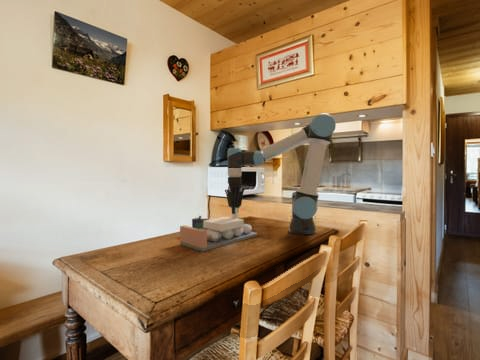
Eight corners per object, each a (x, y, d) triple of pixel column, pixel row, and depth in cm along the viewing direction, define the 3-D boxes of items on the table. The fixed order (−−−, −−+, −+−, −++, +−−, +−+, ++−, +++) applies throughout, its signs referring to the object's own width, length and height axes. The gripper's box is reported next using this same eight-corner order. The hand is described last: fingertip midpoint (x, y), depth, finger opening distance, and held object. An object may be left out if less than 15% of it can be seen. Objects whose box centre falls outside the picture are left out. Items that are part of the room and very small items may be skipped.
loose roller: (221, 241, 132) (221, 231, 132) (213, 243, 128) (213, 232, 128) (204, 237, 141) (205, 227, 141) (197, 238, 137) (197, 228, 137)
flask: (208, 233, 154) (208, 215, 154) (207, 235, 151) (207, 216, 151) (192, 233, 155) (192, 215, 154) (191, 235, 152) (191, 216, 151)
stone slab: (243, 226, 142) (243, 219, 142) (220, 231, 131) (220, 224, 131) (226, 222, 152) (226, 216, 152) (203, 227, 141) (203, 220, 141)
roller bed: (258, 235, 148) (258, 219, 147) (202, 251, 121) (202, 231, 120) (235, 230, 160) (235, 215, 160) (180, 244, 133) (179, 226, 133)
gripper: (238, 176, 154) (238, 217, 155) (221, 176, 145) (221, 220, 146) (247, 176, 149) (248, 218, 150) (230, 176, 139) (231, 222, 140)
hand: (235, 219), depth 148 cm, fingers closed
